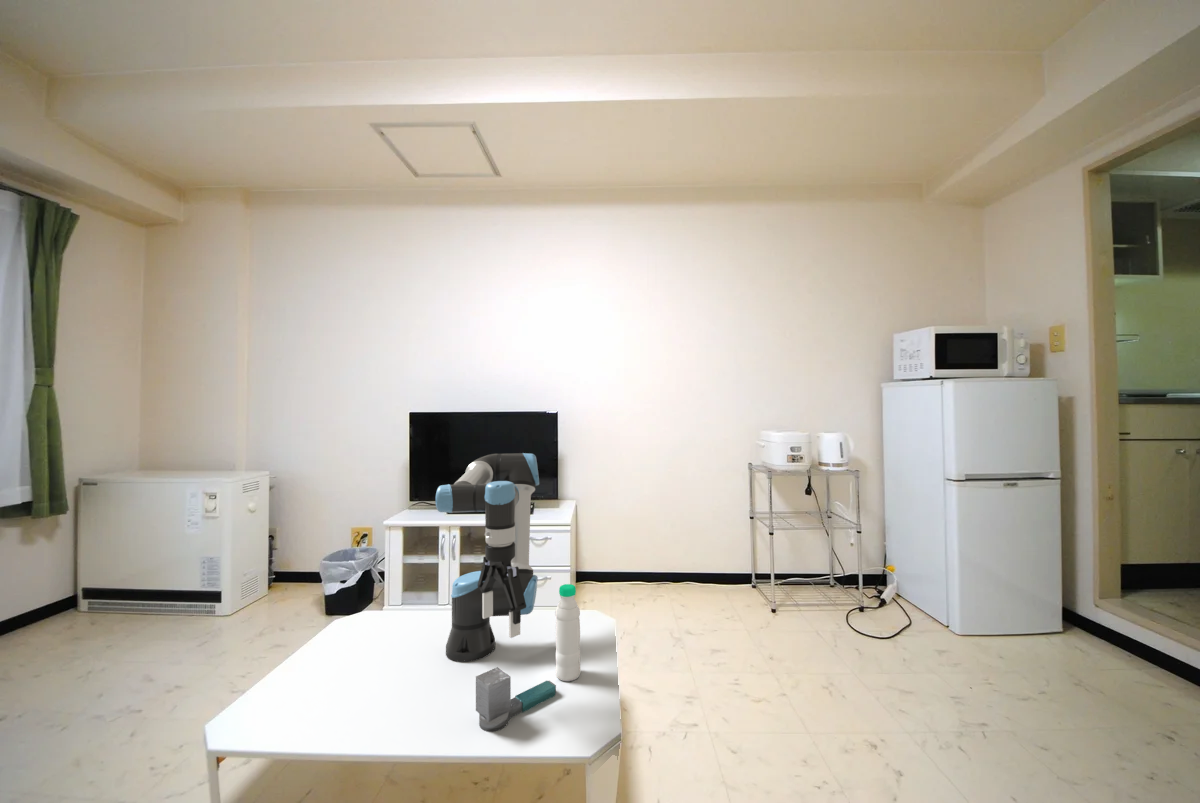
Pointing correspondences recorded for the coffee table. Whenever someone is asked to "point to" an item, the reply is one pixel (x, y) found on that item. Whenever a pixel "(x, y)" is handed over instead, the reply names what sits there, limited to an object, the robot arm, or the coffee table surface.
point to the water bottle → (567, 635)
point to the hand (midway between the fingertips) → (500, 626)
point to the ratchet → (520, 705)
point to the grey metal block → (493, 694)
